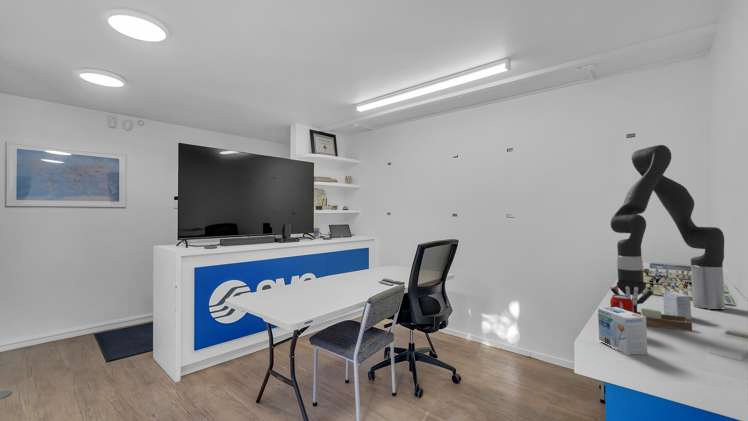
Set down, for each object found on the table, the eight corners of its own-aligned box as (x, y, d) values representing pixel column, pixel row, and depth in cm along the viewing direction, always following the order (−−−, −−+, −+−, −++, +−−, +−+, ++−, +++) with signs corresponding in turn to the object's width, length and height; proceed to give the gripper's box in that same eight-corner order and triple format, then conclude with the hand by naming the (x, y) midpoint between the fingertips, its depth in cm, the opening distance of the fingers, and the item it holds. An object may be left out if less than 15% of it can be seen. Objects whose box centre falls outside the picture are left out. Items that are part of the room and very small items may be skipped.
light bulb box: (598, 341, 103) (596, 307, 103) (617, 340, 104) (616, 306, 104) (627, 356, 93) (625, 317, 93) (649, 354, 93) (647, 316, 93)
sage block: (641, 320, 122) (640, 306, 122) (658, 322, 119) (657, 308, 120) (643, 324, 118) (643, 310, 118) (661, 326, 115) (661, 312, 115)
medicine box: (692, 320, 120) (690, 296, 121) (677, 319, 121) (676, 296, 121) (676, 313, 128) (675, 291, 128) (663, 313, 129) (662, 291, 129)
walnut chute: (635, 318, 124) (634, 311, 124) (684, 323, 117) (684, 316, 117) (639, 324, 117) (639, 317, 117) (692, 330, 110) (691, 323, 110)
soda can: (630, 329, 113) (628, 294, 113) (638, 335, 107) (636, 299, 107) (608, 327, 115) (607, 293, 115) (615, 334, 109) (613, 298, 109)
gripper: (650, 267, 122) (652, 313, 121) (607, 265, 128) (609, 309, 128) (655, 270, 115) (657, 319, 115) (609, 268, 122) (611, 314, 122)
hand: (632, 314), depth 122 cm, fingers closed
